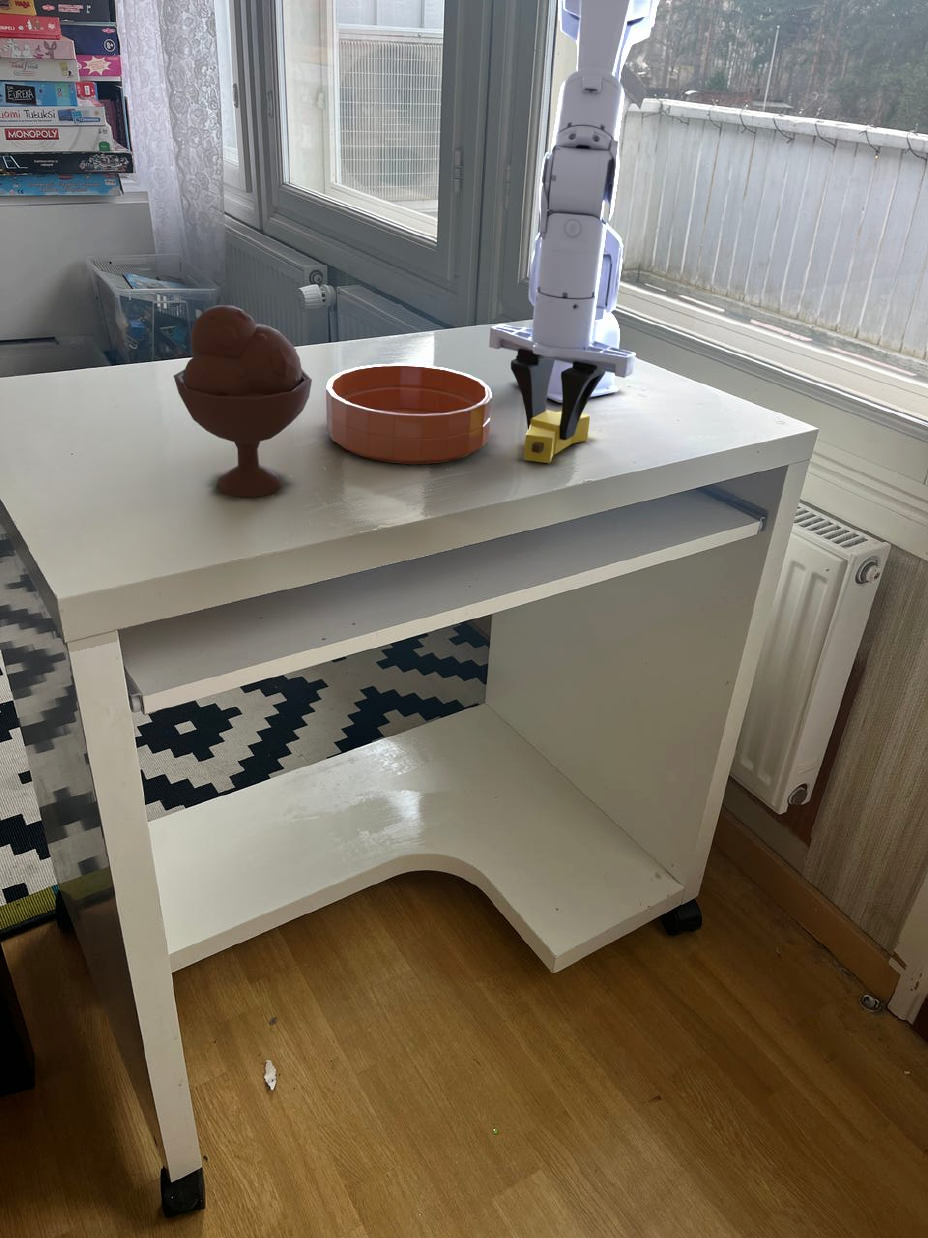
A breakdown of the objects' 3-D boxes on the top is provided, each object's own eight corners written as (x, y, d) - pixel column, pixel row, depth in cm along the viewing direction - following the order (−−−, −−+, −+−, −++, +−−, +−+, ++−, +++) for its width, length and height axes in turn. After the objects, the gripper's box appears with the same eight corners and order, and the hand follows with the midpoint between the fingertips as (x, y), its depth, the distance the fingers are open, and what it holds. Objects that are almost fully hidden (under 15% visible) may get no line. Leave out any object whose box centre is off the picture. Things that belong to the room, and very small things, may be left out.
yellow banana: (558, 429, 100) (561, 401, 98) (590, 437, 98) (594, 409, 97) (510, 457, 92) (512, 428, 90) (543, 467, 90) (547, 437, 89)
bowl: (425, 401, 105) (427, 356, 102) (520, 448, 94) (524, 399, 92) (297, 425, 96) (296, 376, 93) (386, 479, 85) (387, 426, 83)
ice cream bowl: (199, 517, 76) (182, 329, 69) (176, 466, 85) (159, 294, 77) (326, 503, 80) (324, 323, 73) (292, 455, 89) (287, 290, 81)
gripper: (477, 285, 88) (467, 426, 95) (621, 313, 81) (599, 462, 88) (514, 274, 93) (503, 408, 100) (652, 300, 87) (629, 441, 94)
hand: (550, 432), depth 95 cm, fingers closed on yellow banana, 3 cm apart
